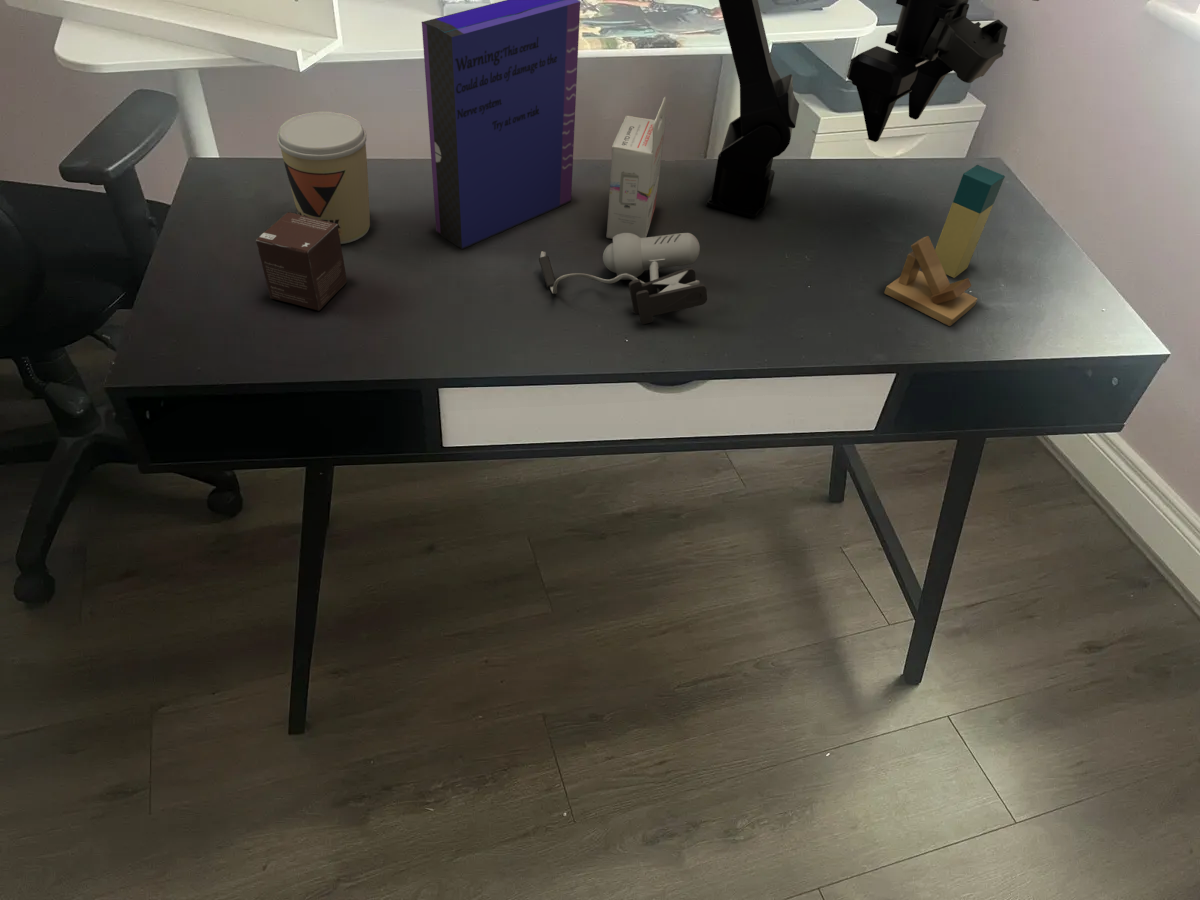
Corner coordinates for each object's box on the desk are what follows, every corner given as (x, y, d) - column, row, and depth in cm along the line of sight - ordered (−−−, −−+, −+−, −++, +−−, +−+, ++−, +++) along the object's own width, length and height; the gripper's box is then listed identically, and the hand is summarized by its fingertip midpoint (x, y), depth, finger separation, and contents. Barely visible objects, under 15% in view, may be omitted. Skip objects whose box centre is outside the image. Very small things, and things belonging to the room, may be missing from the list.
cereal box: (545, 186, 116) (550, -14, 100) (571, 201, 114) (580, -1, 97) (436, 232, 107) (421, 19, 90) (462, 249, 105) (451, 34, 88)
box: (349, 283, 99) (339, 223, 94) (319, 313, 95) (307, 252, 89) (299, 270, 100) (288, 210, 95) (268, 299, 96) (254, 238, 91)
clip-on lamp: (543, 340, 98) (709, 320, 96) (530, 295, 94) (705, 273, 91) (547, 270, 106) (701, 250, 104) (535, 226, 101) (697, 204, 99)
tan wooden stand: (883, 293, 104) (900, 244, 99) (910, 274, 107) (927, 225, 103) (949, 326, 100) (970, 277, 95) (975, 305, 103) (995, 257, 99)
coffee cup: (278, 236, 104) (257, 136, 96) (325, 199, 111) (309, 103, 102) (348, 256, 102) (333, 156, 94) (392, 218, 109) (381, 121, 100)
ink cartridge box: (617, 203, 114) (627, 88, 104) (655, 210, 114) (669, 94, 104) (603, 238, 108) (612, 119, 98) (644, 245, 108) (658, 126, 98)
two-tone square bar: (899, 201, 107) (982, 165, 98) (914, 192, 109) (996, 156, 100) (936, 284, 109) (1021, 255, 100) (950, 273, 111) (1034, 245, 102)
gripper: (964, 29, 86) (914, 180, 97) (1046, -10, 97) (993, 130, 107) (864, -5, 91) (827, 142, 102) (952, -38, 102) (910, 99, 113)
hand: (893, 129), depth 106 cm, fingers open, 9 cm apart
